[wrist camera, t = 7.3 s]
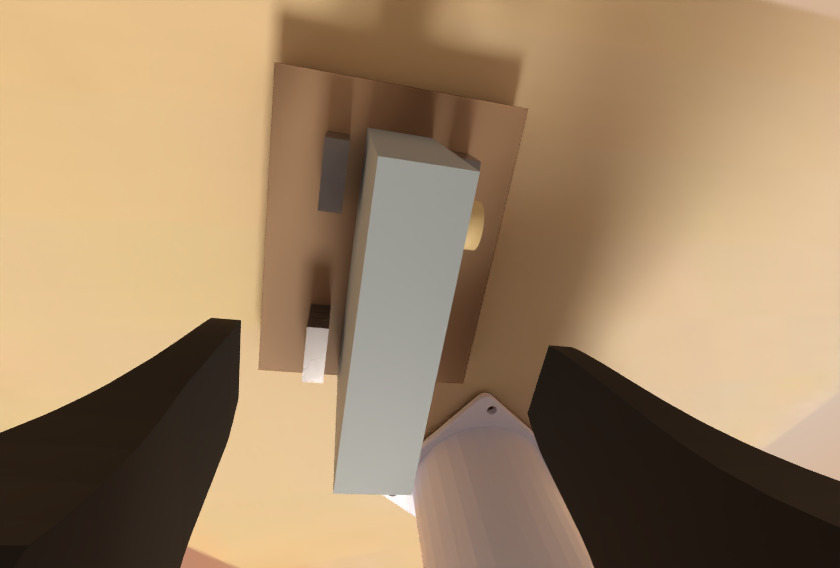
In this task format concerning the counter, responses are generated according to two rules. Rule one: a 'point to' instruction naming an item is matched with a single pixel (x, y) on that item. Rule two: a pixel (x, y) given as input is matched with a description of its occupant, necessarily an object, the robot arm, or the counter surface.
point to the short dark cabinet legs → (333, 202)
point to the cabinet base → (333, 232)
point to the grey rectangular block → (399, 305)
